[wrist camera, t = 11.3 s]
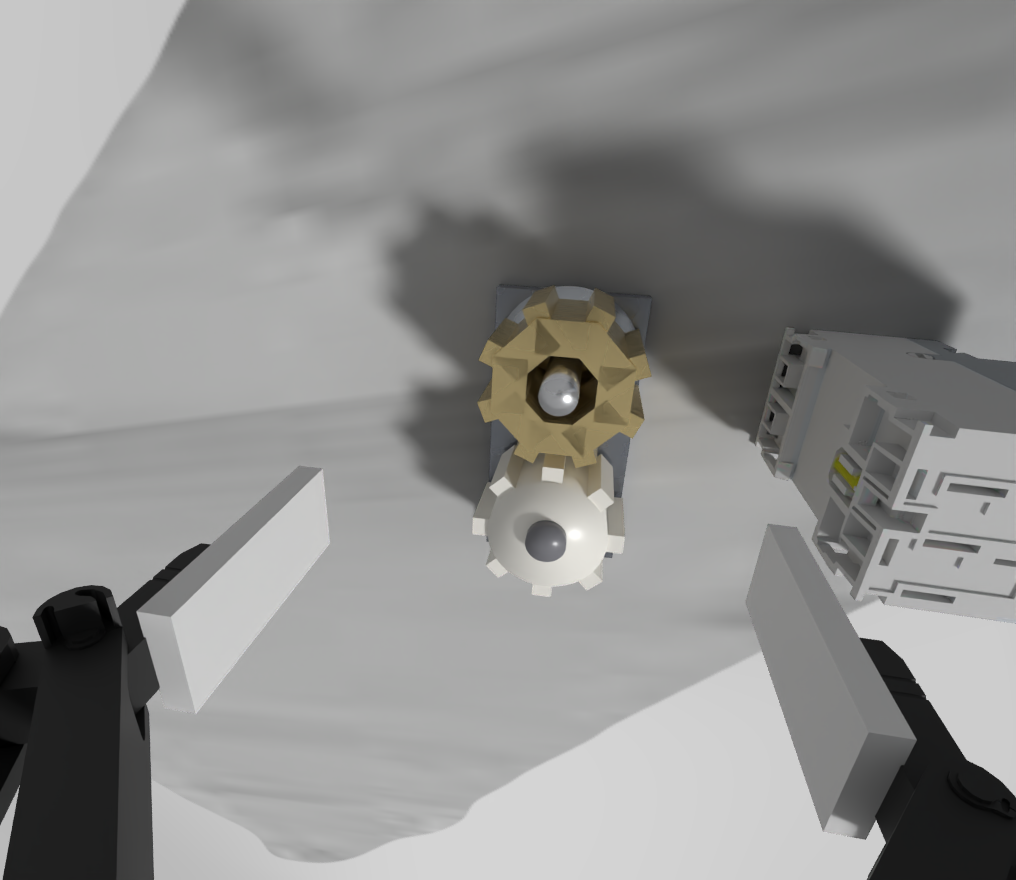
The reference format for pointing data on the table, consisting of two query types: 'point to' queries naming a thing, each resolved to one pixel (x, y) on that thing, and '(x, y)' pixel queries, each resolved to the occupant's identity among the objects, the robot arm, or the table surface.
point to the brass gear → (602, 398)
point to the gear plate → (612, 444)
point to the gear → (550, 520)
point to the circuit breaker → (902, 466)
